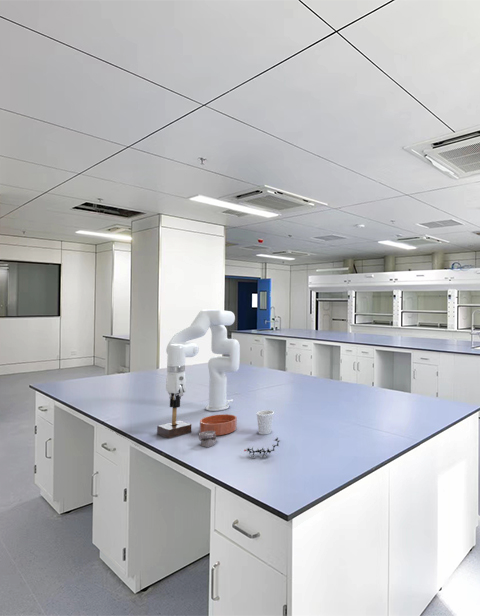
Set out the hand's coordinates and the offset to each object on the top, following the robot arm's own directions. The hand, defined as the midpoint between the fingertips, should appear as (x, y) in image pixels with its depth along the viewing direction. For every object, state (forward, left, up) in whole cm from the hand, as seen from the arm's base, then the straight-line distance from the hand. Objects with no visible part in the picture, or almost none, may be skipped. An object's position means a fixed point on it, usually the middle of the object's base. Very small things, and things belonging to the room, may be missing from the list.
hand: (174, 406), depth 182 cm
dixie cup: (-26, +34, -13) cm, 45 cm away
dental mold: (-1, +26, -13) cm, 29 cm away
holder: (0, 0, -13) cm, 13 cm away
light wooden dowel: (0, 0, -9) cm, 9 cm away
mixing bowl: (-14, +14, -13) cm, 24 cm away
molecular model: (-6, +57, -13) cm, 59 cm away
